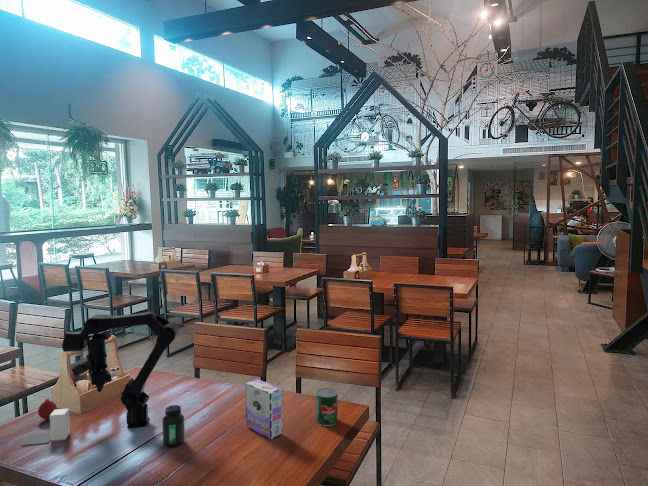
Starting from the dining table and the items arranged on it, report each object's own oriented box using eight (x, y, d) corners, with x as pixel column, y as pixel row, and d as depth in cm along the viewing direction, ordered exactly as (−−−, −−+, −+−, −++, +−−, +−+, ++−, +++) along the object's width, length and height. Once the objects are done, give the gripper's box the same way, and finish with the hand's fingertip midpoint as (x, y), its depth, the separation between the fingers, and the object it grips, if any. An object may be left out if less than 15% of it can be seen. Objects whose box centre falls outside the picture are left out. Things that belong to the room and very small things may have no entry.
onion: (48, 424, 164) (47, 402, 163) (34, 422, 165) (33, 401, 164) (60, 416, 169) (59, 396, 169) (47, 415, 171) (46, 394, 170)
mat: (55, 433, 157) (55, 432, 157) (48, 443, 151) (48, 442, 151) (30, 435, 156) (30, 434, 156) (21, 446, 149) (21, 444, 149)
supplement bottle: (175, 450, 147) (174, 414, 146) (158, 446, 149) (157, 410, 148) (189, 439, 153) (188, 405, 152) (172, 436, 155) (171, 402, 154)
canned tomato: (325, 428, 161) (325, 398, 160) (311, 421, 167) (311, 391, 166) (342, 421, 166) (342, 392, 165) (327, 414, 172) (327, 386, 171)
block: (70, 433, 157) (68, 408, 156) (65, 440, 153) (64, 414, 152) (55, 434, 156) (54, 409, 155) (50, 441, 152) (49, 415, 151)
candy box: (283, 434, 157) (283, 388, 156) (270, 440, 153) (270, 393, 151) (258, 421, 166) (257, 377, 165) (245, 427, 162) (244, 382, 161)
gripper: (68, 346, 164) (71, 386, 167) (73, 365, 149) (76, 409, 152) (102, 340, 170) (104, 379, 173) (110, 358, 155) (112, 400, 158)
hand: (99, 391), depth 164 cm, fingers closed
